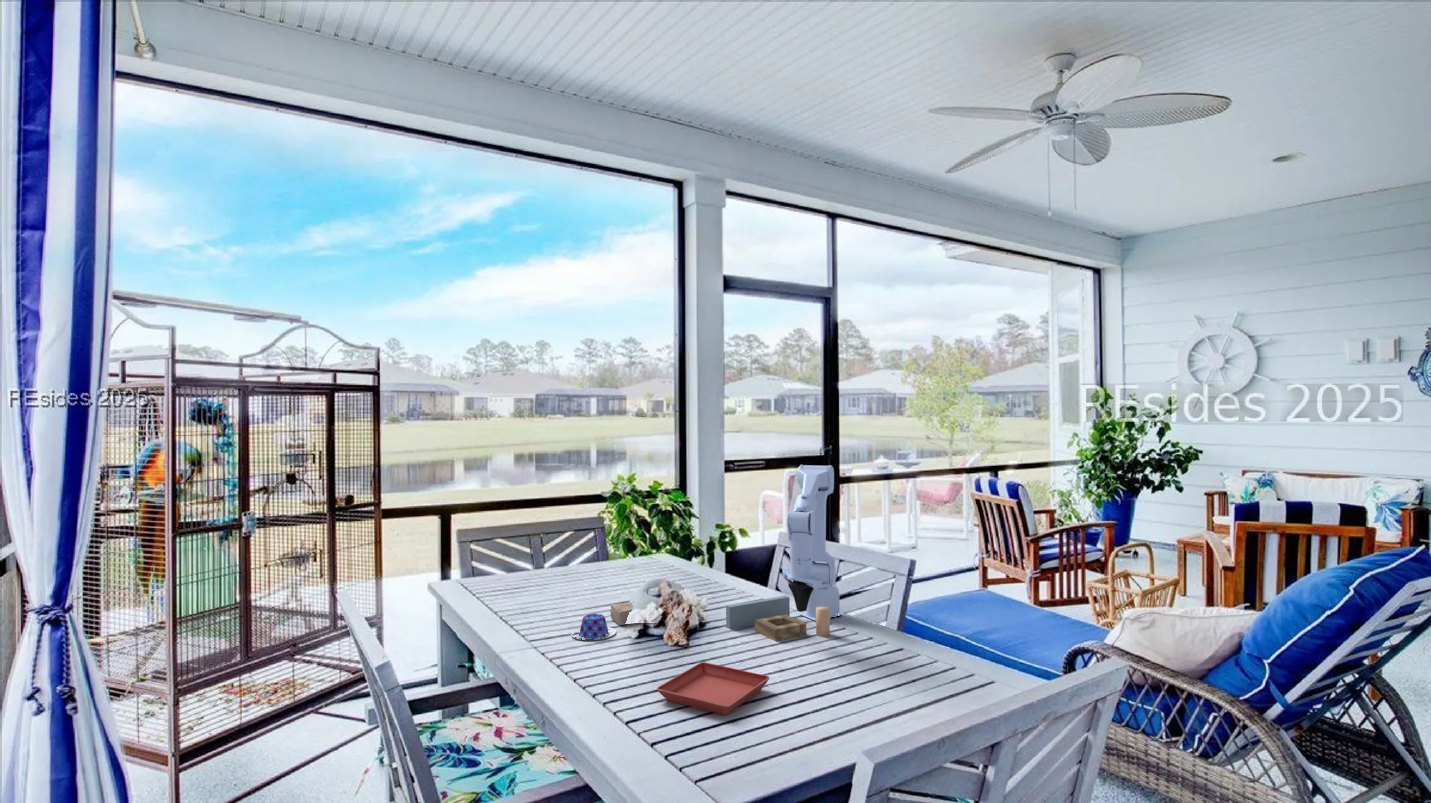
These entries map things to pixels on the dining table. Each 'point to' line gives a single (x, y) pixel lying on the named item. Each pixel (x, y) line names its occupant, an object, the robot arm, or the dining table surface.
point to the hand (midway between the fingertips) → (801, 610)
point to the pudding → (594, 627)
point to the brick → (620, 612)
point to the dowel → (822, 621)
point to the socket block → (780, 627)
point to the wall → (756, 611)
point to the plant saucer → (713, 687)
